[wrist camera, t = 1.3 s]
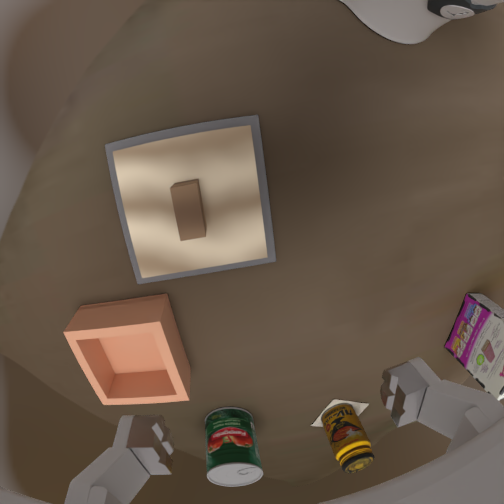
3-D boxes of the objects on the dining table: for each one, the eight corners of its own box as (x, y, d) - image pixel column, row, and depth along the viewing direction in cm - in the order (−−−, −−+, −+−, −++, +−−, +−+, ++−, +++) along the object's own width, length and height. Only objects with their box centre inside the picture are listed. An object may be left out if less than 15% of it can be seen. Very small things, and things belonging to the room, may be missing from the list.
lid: (114, 151, 28) (100, 153, 24) (249, 125, 29) (255, 123, 25) (143, 275, 33) (135, 293, 29) (266, 254, 34) (273, 270, 30)
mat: (106, 144, 28) (104, 144, 28) (257, 115, 29) (258, 114, 29) (138, 282, 34) (137, 284, 33) (275, 259, 35) (276, 261, 34)
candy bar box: (460, 343, 46) (509, 396, 31) (443, 346, 45) (494, 404, 30) (482, 291, 42) (543, 338, 27) (466, 291, 41) (530, 343, 26)
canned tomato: (223, 438, 46) (228, 490, 36) (194, 417, 43) (194, 474, 33) (262, 422, 45) (273, 476, 35) (235, 399, 43) (243, 458, 32)
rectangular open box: (80, 305, 34) (63, 332, 29) (167, 293, 35) (160, 321, 29) (112, 375, 39) (103, 404, 33) (190, 368, 39) (189, 400, 34)
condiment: (332, 398, 45) (357, 454, 34) (368, 403, 47) (395, 452, 36) (310, 424, 47) (328, 478, 36) (346, 427, 49) (367, 475, 38)
